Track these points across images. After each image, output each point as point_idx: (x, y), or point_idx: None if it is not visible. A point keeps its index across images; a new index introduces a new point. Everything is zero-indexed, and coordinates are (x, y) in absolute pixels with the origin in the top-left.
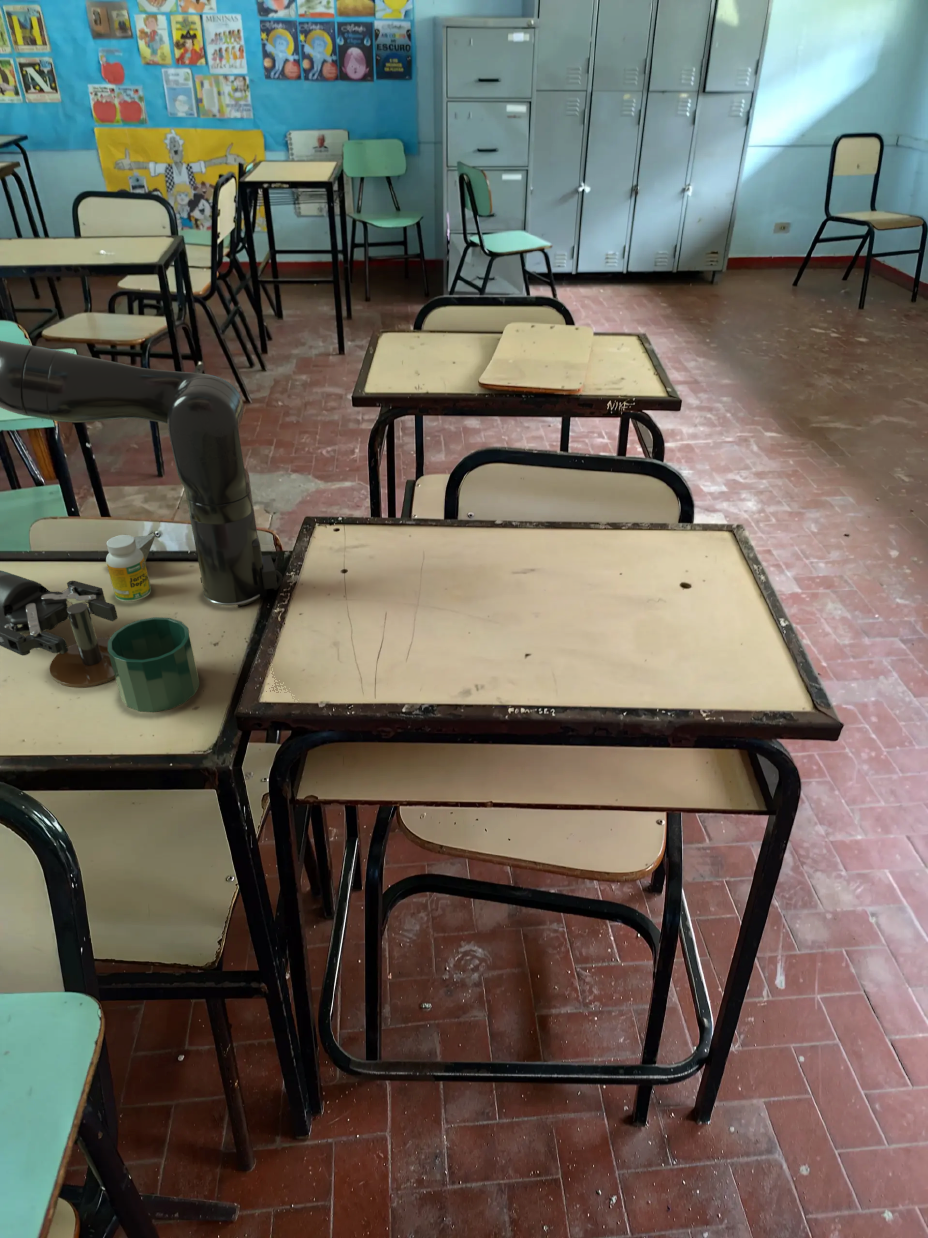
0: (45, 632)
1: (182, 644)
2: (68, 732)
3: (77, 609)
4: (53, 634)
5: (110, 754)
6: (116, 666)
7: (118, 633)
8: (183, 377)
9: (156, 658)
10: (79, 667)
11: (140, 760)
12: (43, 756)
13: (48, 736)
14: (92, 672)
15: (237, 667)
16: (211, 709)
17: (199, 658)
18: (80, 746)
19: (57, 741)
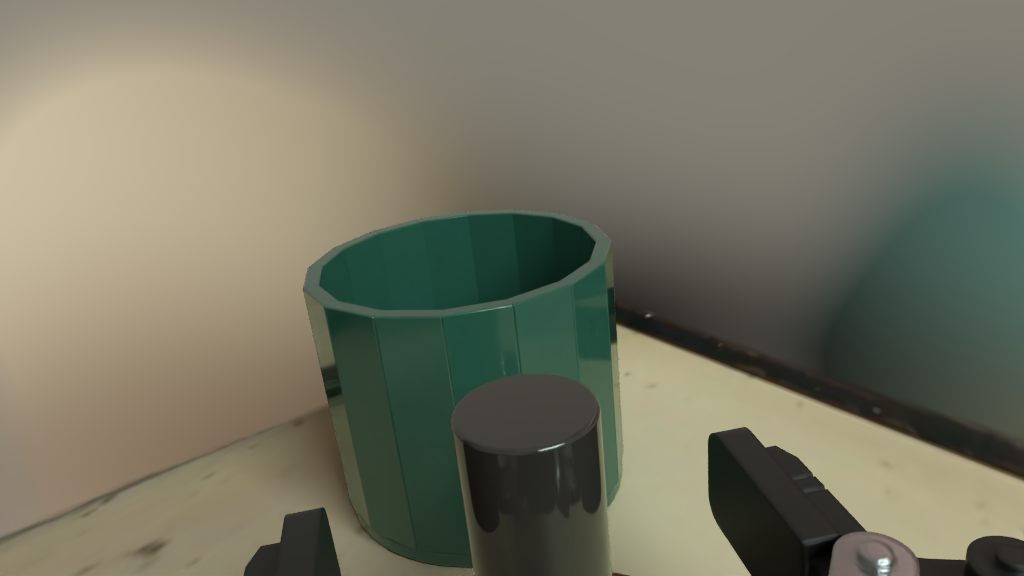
0: (797, 524)
1: (419, 220)
2: (846, 486)
3: (535, 393)
4: (753, 478)
5: (755, 377)
6: (613, 283)
7: (502, 302)
8: None
9: (518, 211)
10: None
11: (698, 342)
12: (953, 449)
13: (924, 506)
14: None
15: (264, 435)
16: None
17: (264, 523)
18: (824, 427)
19: (894, 474)
